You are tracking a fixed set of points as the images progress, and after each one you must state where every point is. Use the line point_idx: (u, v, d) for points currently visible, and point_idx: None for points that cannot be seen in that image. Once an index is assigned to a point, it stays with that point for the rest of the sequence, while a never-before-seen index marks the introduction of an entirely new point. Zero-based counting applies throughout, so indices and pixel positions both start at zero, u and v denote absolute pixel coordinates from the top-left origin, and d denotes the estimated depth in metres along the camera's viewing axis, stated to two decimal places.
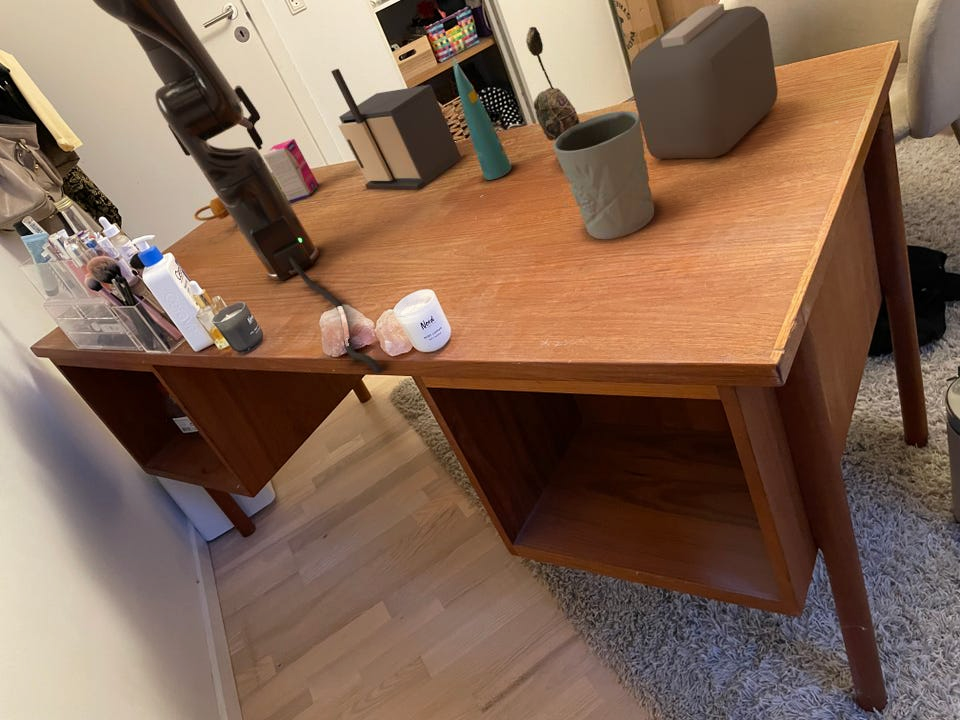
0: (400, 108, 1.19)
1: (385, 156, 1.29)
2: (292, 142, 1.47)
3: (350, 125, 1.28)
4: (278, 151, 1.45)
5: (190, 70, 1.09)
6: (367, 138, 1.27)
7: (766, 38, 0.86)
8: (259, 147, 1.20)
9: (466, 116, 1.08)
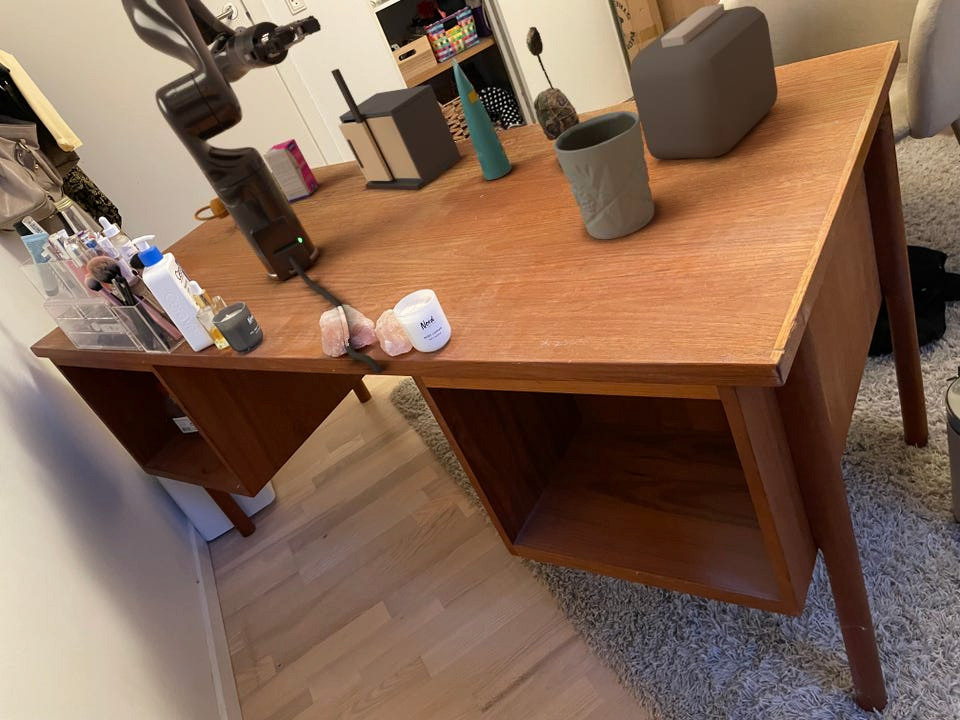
0: (400, 108, 1.19)
1: (385, 156, 1.29)
2: (292, 142, 1.47)
3: (350, 125, 1.28)
4: (278, 151, 1.45)
5: None
6: (367, 138, 1.27)
7: (766, 38, 0.86)
8: (313, 18, 1.22)
9: (466, 116, 1.08)
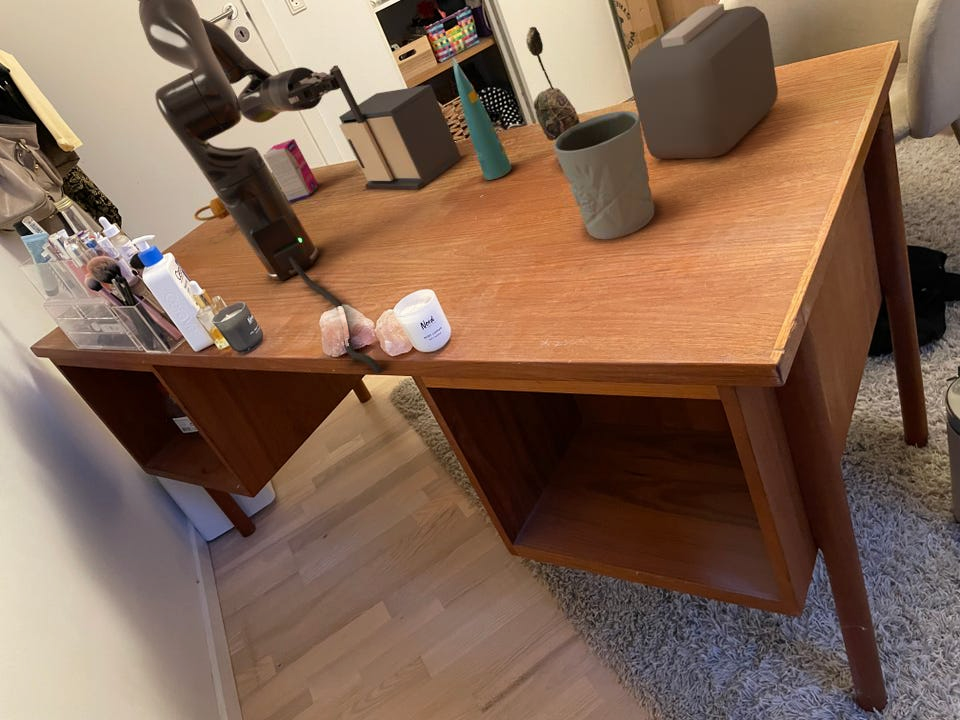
0: (400, 108, 1.19)
1: (385, 156, 1.29)
2: (292, 142, 1.47)
3: (351, 125, 1.28)
4: (278, 151, 1.45)
5: None
6: (368, 138, 1.26)
7: (766, 38, 0.86)
8: None
9: (466, 116, 1.08)
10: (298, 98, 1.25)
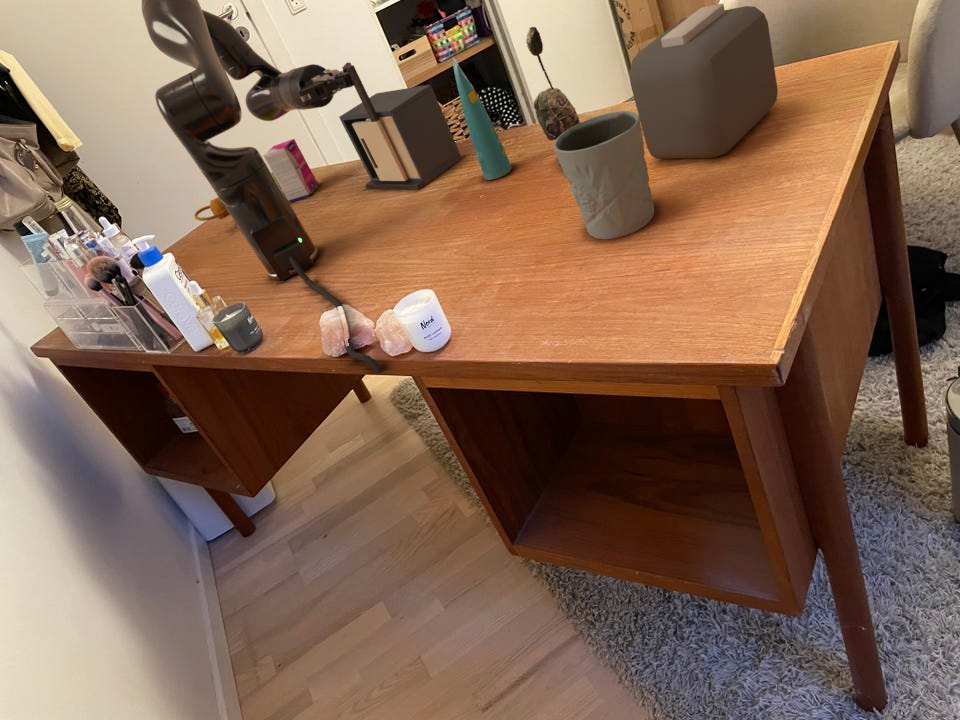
0: (400, 108, 1.19)
1: None
2: (292, 142, 1.47)
3: (364, 124, 1.24)
4: (278, 151, 1.45)
5: None
6: (382, 137, 1.23)
7: (766, 38, 0.86)
8: None
9: (466, 116, 1.08)
10: (310, 96, 1.22)
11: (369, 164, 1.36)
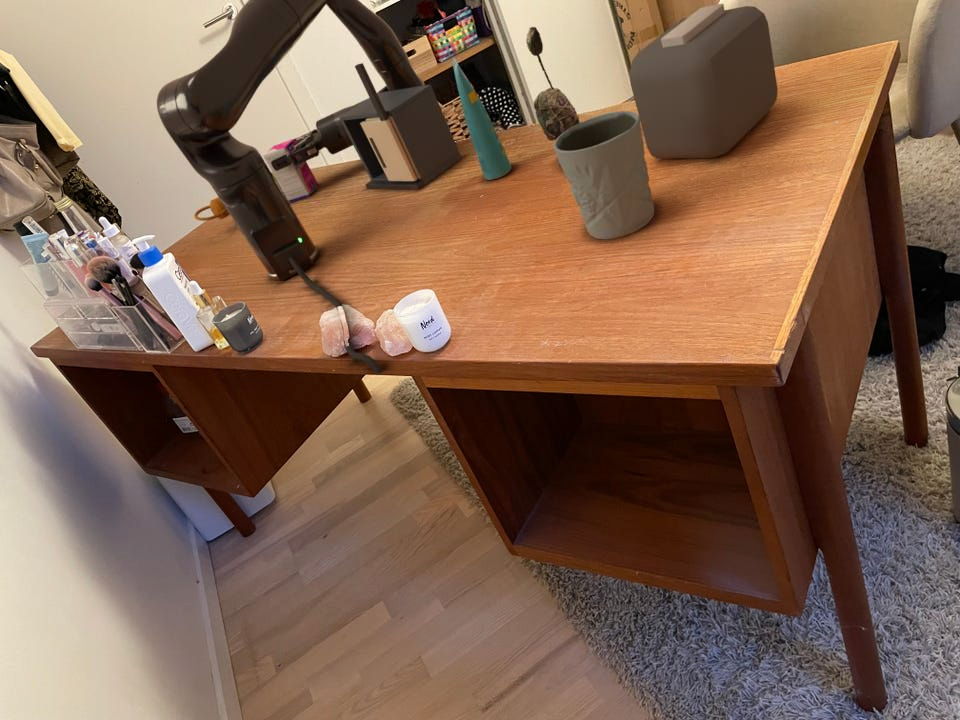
0: (400, 108, 1.19)
1: None
2: (292, 142, 1.47)
3: (373, 123, 1.22)
4: (278, 151, 1.45)
5: (334, 115, 1.44)
6: (391, 136, 1.21)
7: (766, 38, 0.86)
8: (272, 161, 1.45)
9: (466, 116, 1.08)
10: None
11: (369, 164, 1.36)
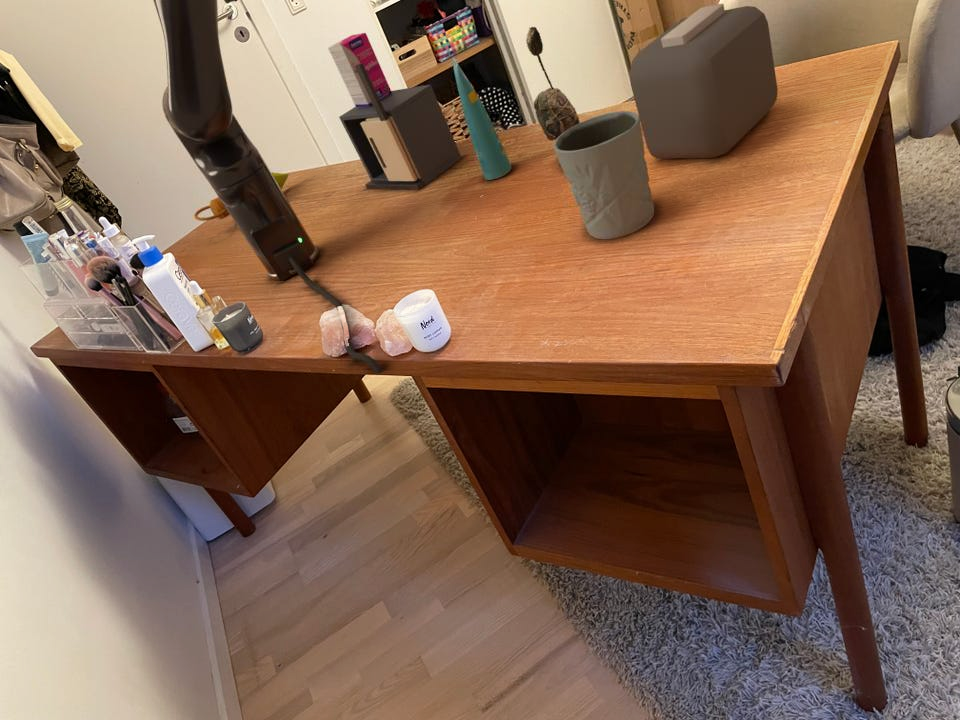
0: (400, 108, 1.19)
1: None
2: (360, 37, 1.23)
3: (373, 123, 1.22)
4: (338, 47, 1.22)
5: None
6: (391, 136, 1.21)
7: (766, 38, 0.86)
8: None
9: (466, 116, 1.08)
10: None
11: (369, 164, 1.36)
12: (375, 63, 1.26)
